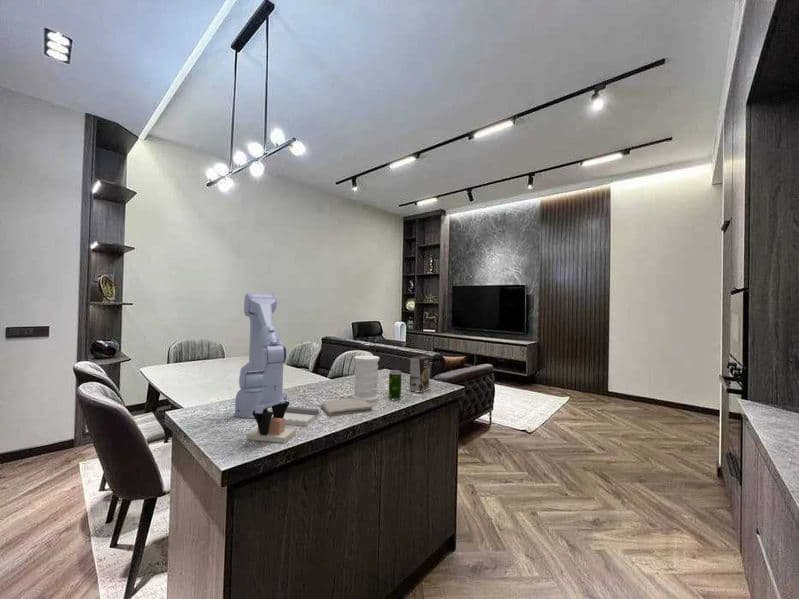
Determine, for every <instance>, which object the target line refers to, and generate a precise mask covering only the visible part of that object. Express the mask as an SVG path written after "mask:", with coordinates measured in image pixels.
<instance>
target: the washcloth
mask: <svg viewBox="0 0 799 599" xmlns="http://www.w3.org/2000/svg"><path fill="white" fill-rule="evenodd" d="M320 407H321V408H322V410H323V411H325V413H326V415H327V416H329V417H333V416H335V417H336V416H342V415H343V416H344V415H351V414H352V415H353V414H358V413H359V412H360V413H368V412H367V411H369V412H373V404H372V405H371V404H370V403H368V402H367V401H365V400H363V399H361V398H360V399H352V398H349V397H348V398H345V399H333V400H329V401H328V400H327V401H323V402H321V404H320ZM360 413H359V414H360Z"/></svg>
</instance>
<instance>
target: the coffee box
mask: <svg viewBox="0 0 799 599" xmlns="http://www.w3.org/2000/svg"><path fill="white" fill-rule="evenodd" d="M430 371H431V356H423V355H418V356H412V357H410V367H409V387H408V388H409V389H408V390H413V391H419V392H421V391H424V390H426V389H428V388H429V389H430V380H431V379H430V373H431V372H430Z"/></svg>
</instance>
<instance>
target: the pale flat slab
mask: <svg viewBox="0 0 799 599" xmlns="http://www.w3.org/2000/svg"><path fill="white" fill-rule="evenodd" d="M285 425H286V424H285V419H284V418H273V416H272V417H271V420H270V425H269V432H268V435H267V436H265V435H260V432H259V428H258V427H256V428H254V429H252V430H251V431H250V432H248V433H247V434H246V439H247V440H250V441H253V440H254V441H262V442H270V443H271V442H272V443H279V444H280V443H281V444H285V443H286V442H288V441H289V440H290V439H291V438H293V437H294V436H295V435H296V434H297V429H295V428H288V427H287V428H286V426H285Z"/></svg>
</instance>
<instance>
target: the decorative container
mask: <svg viewBox="0 0 799 599" xmlns="http://www.w3.org/2000/svg"><path fill="white" fill-rule="evenodd" d="M379 361H380V356H377V355H364V354H363V355H361V354H360V355H356V356H354V362H355V364H354V368H355V369H354V370H355V372H354V381H353V382H354V388H353V389H354V390H353V391H354V394H352V396H351V399H360V398H361V399H363V400H365V401H367V402H370V403H374V402H373V401H375V402H377V400H378V399H380V395H379V394H377V393H378V383H379V381H378V375H379V372H378V369H379V364H378V363H379ZM378 401H379V400H378Z"/></svg>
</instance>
